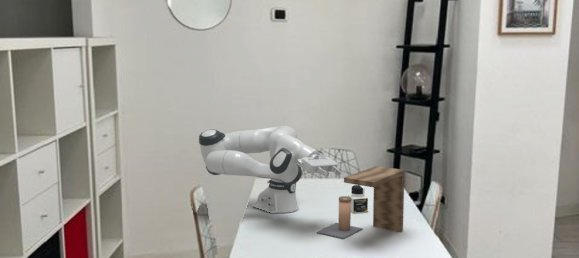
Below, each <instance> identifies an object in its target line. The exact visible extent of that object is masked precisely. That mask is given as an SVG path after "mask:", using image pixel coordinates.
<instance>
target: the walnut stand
mask: <svg viewBox="0 0 579 258" xmlns="http://www.w3.org/2000/svg"><path fill="white" fill-rule="evenodd" d="M343 183H346V184H350V185H361V186H364V187H369V188H373V203H372V204H373V207H372V210H373V211H372V212H373V213H372V214H373V218H372V219H373V220H372V227H374V228H380V229H383V230H384V229H385V230H389V231H393V232H398V233H402V232H403V231H404V211H405V208H404V207H405V206H404V205H405V203H404V202H405V200H404V199H405V198H404V197H405V169H401V168H400V169H399V168H392V167H387V166H386V167H385V166H380V165H379V166H378V165H376V166H373V167H370V168H367V169H364V170H362V171H358V172H356V173H353V174H351V175H347V176H344V177H343Z"/></svg>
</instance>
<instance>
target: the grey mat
mask: <svg viewBox="0 0 579 258" xmlns="http://www.w3.org/2000/svg"><path fill="white" fill-rule="evenodd" d="M360 231H363V228H362V227H359V226H358V227H357V226H353V225H350V230H348V231H341V230H339V229H338V222H335V223H332V224H330V225H328V226H326V227H324V228H322V229H320V230H317V231H316V234H320V235H324V236H327V237H332V238H337V239H339V240H340V239H341V240H345V239H347V238H349V237H351V236H353V235H354V234H355V235H356V234H357V233H359V232H360Z"/></svg>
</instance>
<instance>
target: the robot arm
mask: <svg viewBox="0 0 579 258" xmlns="http://www.w3.org/2000/svg"><path fill="white" fill-rule="evenodd" d="M198 142H199V147H200V153H201V156H202V159H203V162H204V164H205V169H206V171H207V172H208V173H209V174H210V175H212V176H221V175H224V176H241V177H242V176H243V177H255V178H256V177H257V178H264V179H268V180H266V184H268V186H267V187H266V188H265V189H263V190H262V191H261V192H260V193H259V194H258V196H257V201H256V202H255V203H253V204H252V207H253V206H254V207H256V208H255V209H257V208H259V209H258V210H260V209H262V210H261V211H263V210H265V211H264V212H266V211H267V213H269V212H270V213H269V214H281V213H282V214H284V213H285V214H286V213H292V212H293V213H294V212H297V211H298V210H299V205H298V201H297V193H296V189H297V183H298V182H299V181H300V179H301V177H302V175H303V170H304V171H306V172H307V173H310V174H319V175H322V176H324V177H328V176H329V175H330V172H332V173H334V175H336V176H340V175H341V174H342V172H341V170H340V169H338V166H339V164H338V163H337V161H335V160H334V159H333V158H331V157H329V156H328V155H326V154H325V152H323V151H322V150H318V149H315V148H313V147H311V146H309V145H307V144H305V143H303V141H301V140H300V139H298V134H297V131H296V130H295V129H294V127H292V126H289V125H279V126H272V127H265V128H258V129H257V128H256V129H244V130H237V131H230V132H227V133H223V132H221V131H219V130H217V129H213V128H212V129H206V130H204V131H202V132H201V133H200V134H199V136H198ZM265 152H269V157H270V160H269V163H263V162H260V161H258V160H256V159H254V158H253V157H251V156H249V155H248V154H261V153H265ZM302 169H303V170H302ZM254 207H253V208H254Z"/></svg>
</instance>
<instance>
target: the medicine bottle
mask: <svg viewBox="0 0 579 258" xmlns="http://www.w3.org/2000/svg"><path fill="white" fill-rule="evenodd" d="M365 188H366V186H361V185H355V184H353V185H352V186H351V194H348V195H347V196H348V197H351V214H362V213H364V212H365V213H368V212H369V211H368V206H369V205H368V204H369V202H368V201H369V198H368V196H366V195H365V191H366V189H365Z"/></svg>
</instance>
